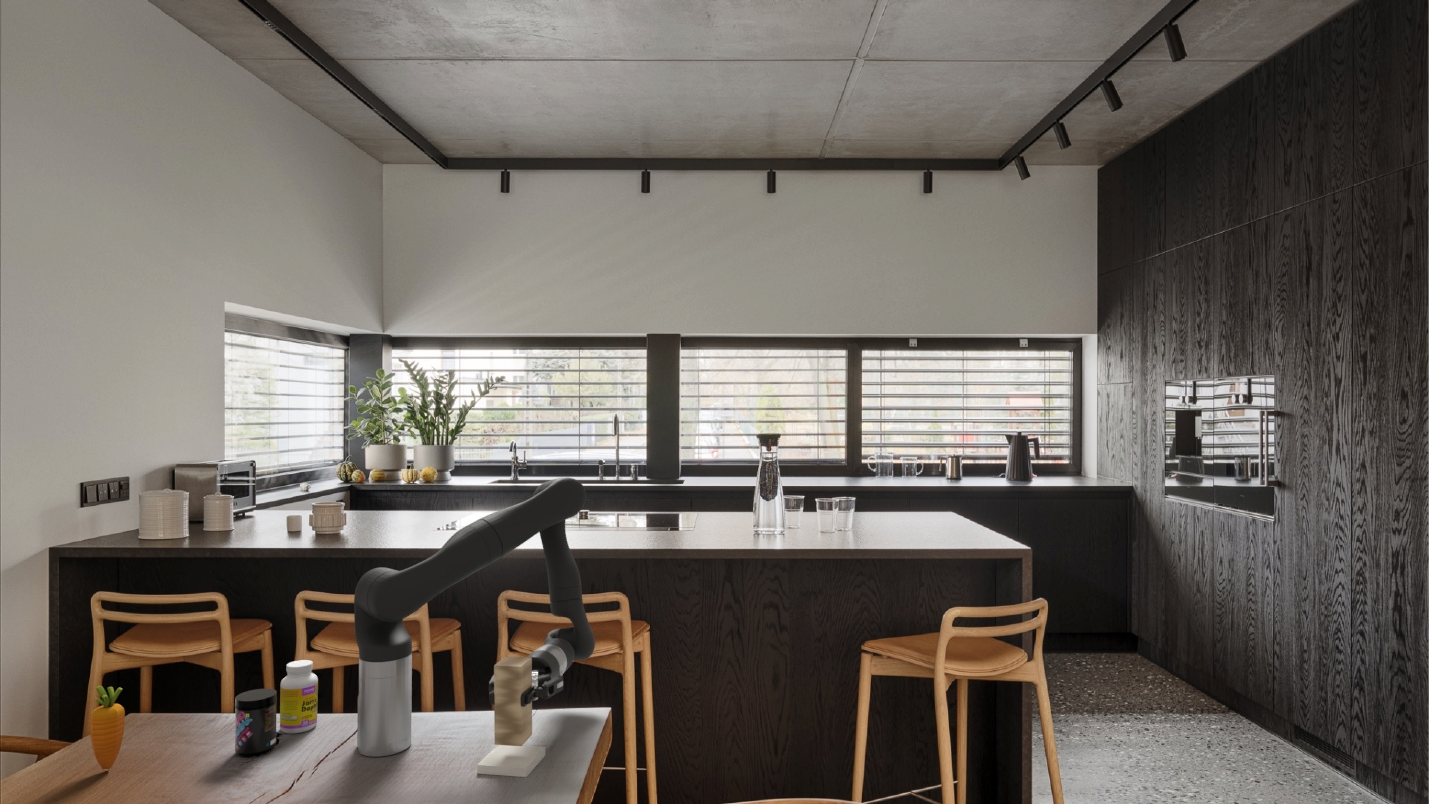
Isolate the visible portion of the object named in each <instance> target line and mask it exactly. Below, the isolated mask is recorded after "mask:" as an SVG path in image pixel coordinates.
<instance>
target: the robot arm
mask: <svg viewBox="0 0 1429 804" xmlns="http://www.w3.org/2000/svg"><path fill="white" fill-rule="evenodd" d="M586 499H587V492H586V488H585V487H584V485H583V484H582V483H581V481H579V480H577V479H576V478H573V477H569V476H566V477H564V476H563V477H557V478H554V479H551V480H547V481H545V482H543V483H541V484H540V485H538V487H536V489H535V490H534V492H533V496H532V497H530V498H529V499H527V500H523V501H522V502H520V503H517V504H514V505H511V506H508V507H506V508H503V509H500V510H497V511H494V512H492V513H489V514H487V515H485V516H483V517H481V518H479V519H477V520H475V521H473V522H471V523H469V524H467V525H466V526H464V527H462V528H460V529H459V530H457V531H456V532H454V533H453V535H451V537H449V538H448V539H447V541H445V543H444V544H443V545H442V546H441V548H440V549H439V550H438V551H436V553H434V554H433V555H432V556H430V557H428V558H426V559H424V560H422V561H420V562H418V563H416V564H414V565H411V566H410V567H407V568H404V569H402V570H398V569H397V570H396V569H393V568H388V567H381V566H380V567H376V568H372V569H369V570H368V571H367V572H365V573H364V574H363V575H362V576H361V577H360V579H359V580H358V583H357V584H356V587H355V590H354V591H355V592H354V597H353V610H354V611H353V616H354V636H355V637H354V638H355V642H356V645H357V647H358V653H359V654H358V660H359V661H358V696H357V729H356V730H357V739H356V741H357V742H356V743H357V745H356V746H357V748H358V753H360V754H361V755H362V756H365V757H376V758H377V757H386V756H392V755H395V754H399V753H401V752H403V751H404V750H407V749H408V748H409V747H410V746H411V745H412V710H413V709H412V698H413V697H412V695H413V694H412V693H413V692H412V691H413V688H412V687H413V686H412V684H413V682H412V681H413V680H412V675H413V670H412V669H413V663H412V662H413V655H412V654H413V641H412V637H411V636H410V634H409V632H408V631H407V629H406V627H405V624H404V619H406V618H408V617H409V616H411V615H413V614H414V613H415V612H417V611H418V610H419V609H421V608H422V607H423V606H424V605H426V604H428V603H429V602H430V601H431V600H433V599H435V598H436V597H437V596H439V595H440V594H441V593H443V592H444V591H445V590H448V589H449V588H450V587H452V586H454V585H455V584H458V583H459V582H461V581H463V580H465V579H466V578H468V577H470V576H471V575H473V574H475V573H476V572H479V571H480V570H482V569H484V568H486V567H488V566H489V565H491V564H493V563H495V562H496V561H498V560H500V559H501V558H503V557H505V556H506V555H508V554H509V553H511V552H512V551H514V550H516V549H517V548H518V547H520V546H522V545H523V544H524V543H526V542H527V541H529V540H530V539H531V538H533V537H534V536H535V535H537V534H539V536H540V540H541V545H542V546H541V547H542V549H543V554H544V555H543V556H544V559H545V566H546V572H547V581H548V593H549V594H548V595H549V602H550V603H549V606H550V612H551V615H552V616H554V617H558V618H566V619H568V620H569V621H570V622H571V624H572V625H573V626H569V627H561V628H555V629H552V630H551V631H549V632H548V633H547V634H546V637H545V641H544V644H543V645H541V646H540V647H538V648H535V650H533V651H532V652H531V653H530V654H529V655H527V656H526V658H532V684H531V688H528V689H527V690H526V691H524V692H523V693H522V694H521V707H525V706H526V705H527V704H530V703H531V702H532V703H533V701H537V700H538V699H539V698H541V700H544V701H545V700H548V699H550V698H551V697H553V696H555V695H556V694H558V693H560V692H562V691H563V690H564V676H563V674H564V673H566V671H567V670H568V669H569V668H570V667H571V666H572V664H573V662H574V661H581V660H587V659H589V658H591V656H592V655H593V653H594V650H595V647H596V640H595V636H594V633H593V631H592V628H591V625H590V622H589V620H588V616H587V614H586V610H585V607H584V599H583V589H582V580H581V574H580V570H579V568H578V565H577V562H576V561H575V558H574V556H573V553H572V551H571V549H570V546H569V543H568V539H567V534H566V521H567V520H569V519H571V518H574V517H575V516H576V515H578V514H579V513H580V512H581V511H582V510H583V508H584V505H585V504H586ZM488 693H489V694H488V696H489V697H488V702H489V703H490V705H491V706H494V705H495V694H494V674H493V675H492V676H491V679H490V680H489V681H488Z"/></svg>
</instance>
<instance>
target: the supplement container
mask: <svg viewBox="0 0 1429 804" xmlns="http://www.w3.org/2000/svg"><path fill="white" fill-rule="evenodd" d="M277 693H278V691H277V690H276V689H273V688H256V689H251V690H247V691H243V692H241V693H239V694H238V695H236V696H235V698H234V699H235V700H234V701H235V703H234V707H235V712H234V713H235V718H234V719H235V723H234V724H235V725H234V727H235V729H234V733H235V734H234V753H235V755H237V756H238V757H240V758H248V759H249V758H257V757H261V756H264V755H266V754H268V753H270V752H272V751H273V750H275V748H276V746H277V703H278V702H277V701H278V696H277V695H278V694H277Z"/></svg>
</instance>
